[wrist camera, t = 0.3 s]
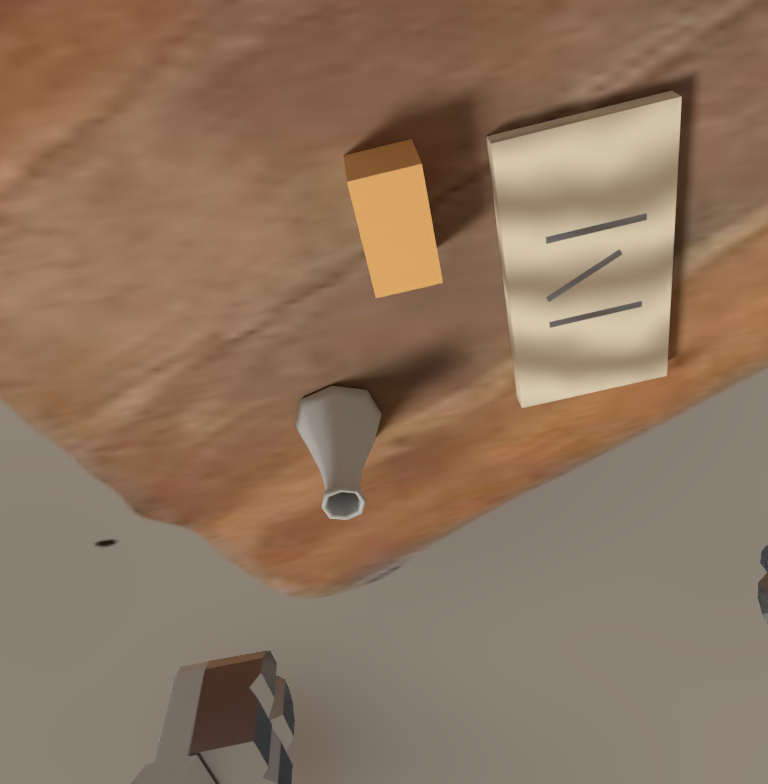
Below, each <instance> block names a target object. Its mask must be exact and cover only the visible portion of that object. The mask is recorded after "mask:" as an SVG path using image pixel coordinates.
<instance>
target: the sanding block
mask: <svg viewBox="0 0 768 784" xmlns="http://www.w3.org/2000/svg"><path fill="white" fill-rule="evenodd" d="M344 162H345V170H346V177H347V184H348V188H349V192H350V196H351V200H352V204H353V208H354V212H355V216H356V220H357V224H358V228H359V232H360V236H361V240H362V244H363V248H364V252H365V256H366V260H367V264H368V268H369V272H370V276H371V280H372V284H373V288H374V292H375V296H376V298H379V297H384V296H388V295H392V294H397V293H401V292H405V291H410V290H414V289H418V288H423V287H427V286H431V285H436V284H440V283H443V281H442V275H441V269H440V264H439V258H438V252H437V247H436V241H435V235H434V230H433V224H432V218H431V212H430V207H429V201H428V195H427V190H426V184H425V178H424V173H423V167H422V163H421V160H420V158H419V155H418V153H417V151H416V148H415V146H414V143H413V141H412V139H409V140H405V141H401V142H397V143H393V144H389V145H385V146H381V147H377V148H372V149H368V150H364V151H360V152H356V153H352V154H348V155H344Z"/></svg>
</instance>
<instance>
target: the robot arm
mask: <svg viewBox="0 0 768 784" xmlns="http://www.w3.org/2000/svg"><path fill="white" fill-rule="evenodd" d="M760 563H761V565H762V566H763V567H764V569H765V570H766V571H767V573H766V574H765V575H764V577H763V578H762V579H761V580H760V581H759V582H758V600H759V603H760V608H761V611H762V615H763V617H764V619H765V621H766V623H767V624H768V545H766V546H765V547H764V549H763V550H762V552H761V560H760ZM276 669H277V662H276V660H275V658H274V657H273V655H272V653H271V651H262V652H257V653H252V654H246V655H240V656H235V657H229V658H224V659H218V660H213V661H208V662H203V663H197V664H192V665H188V666H182V667H180V669H179V670H178V672H177V674H176V675H175V677H174V682H173V686H172V691H171V695H170V699H169V703H168V707H167V712H166V716H165V720H164V724H163V729H162V733H161V737H160V742H159V746H158V750H157V754H156V758H155V763H152V764H148V765H145V767H144V768H143V769H142V770H141V772H140V773H139V774H138V775H137V777H136V778H135V779H134V781H133V782H132V783H131V784H292V768H293V764H292V762H291V760H290V758H289V756H288V754H287V752H286V749H287V748H288V746H289V745H290V743H291V742H292V740H293V739H294V726H295V718H294V709H293V701H292V697H291V694H290V690H289V687H288V685H287V683H286V681H285V679H282V678H281V677H279V676H277V675H276Z"/></svg>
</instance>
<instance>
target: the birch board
mask: <svg viewBox="0 0 768 784" xmlns="http://www.w3.org/2000/svg"><path fill="white" fill-rule="evenodd" d="M681 103H682V96H680V95H679V94H677V93H675V92H673V91H667V92H663V93H659V94H655V95H651V96H647V97H643V98H639V99H635V100H631V101H627V102H623V103H619V104H615V105H611V106H607V107H603V108H599V109H595V110H591V111H587V112H583V113H579V114H575V115H571V116H567V117H563V118H559V119H555V120H551V121H547V122H543V123H539V124H535V125H531V126H527V127H522V128H518V129H514V130H510V131H506V132H502V133H498V134H494V135H490V136H486V140H487V148H488V157H489V165H490V173H491V182H492V190H493V199H494V207H495V215H496V224H497V232H498V240H499V249H500V257H501V265H502V274H503V282H504V290H505V299H506V307H507V316H508V324H509V332H510V341H511V349H512V357H513V366H514V374H515V382H516V391H517V398H518V400H519V403H520V405H521V407H522V408H525V407H529V406H534V405H538V404H543V403H547V402H552V401H556V400H561V399H565V398H569V397H574V396H578V395H583V394H587V393H592V392H596V391H601V390H605V389H610V388H614V387H618V386H623V385H627V384H632V383H636V382H641V381H645V380H650V379H654V378H659V377H663V376H667V362H668V344H669V325H670V307H671V288H672V270H673V251H674V233H675V214H676V196H677V177H678V159H679V140H680V122H681Z"/></svg>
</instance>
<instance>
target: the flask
mask: <svg viewBox="0 0 768 784" xmlns="http://www.w3.org/2000/svg"><path fill="white" fill-rule="evenodd" d="M381 415H382V414H381V412H380V410H379V409H378V407H377V405H376V404H375V402H374V400H373V399H372V397H371V396H370V394H369V392H368V391H367V390H364V389H356V388H347V387H339V386H330V387H328V388H326V389H323V390H321V391H319V392H317V393H314V394H312V395H310V396H307V397H305V398H303V399H301V400H300V406H299V412H298V418H297V423H296V427H297V429H298V431H299V433H300V435H301V436H302V438H303V440H304V442H305V443H306V445H307V447H308V448H309V450H310V452H311V454H312V456H313V458H314V460H315V462H316V464H317V465H318V467H319V469H320V471H321V475H322V478H323V482H324V485H325V493H324V498H323V502H322V509H323V510H324V511H325V513H326V514H327V515H328V517H329V518H330V519H342V520H348V519H351V518H353V517H356V516H358V515H361V514H363V510H364V506H365V503H366V499H365V497H364V495H363V494H362V493H361V486H360V481H361V474H362V470H363V467H364V465H365V462H366V459H367V457H368V455H369V453H370V450H371V448H372V446H373V443H374V441H375V438H376V434H377V430H378V426H379V423H380V419H381Z"/></svg>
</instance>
